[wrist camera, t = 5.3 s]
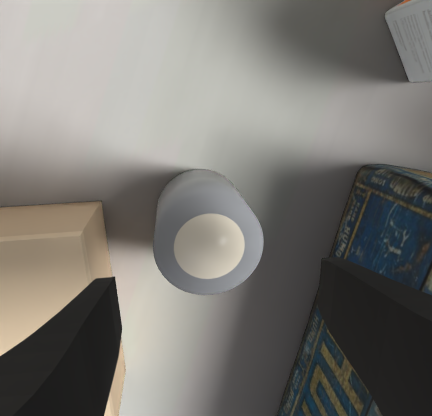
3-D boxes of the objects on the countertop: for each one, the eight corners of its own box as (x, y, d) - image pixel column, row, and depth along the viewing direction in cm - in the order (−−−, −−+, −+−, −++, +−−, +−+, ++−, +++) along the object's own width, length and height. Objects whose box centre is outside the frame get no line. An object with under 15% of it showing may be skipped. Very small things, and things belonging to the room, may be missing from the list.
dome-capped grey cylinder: (241, 246, 21) (262, 290, 16) (160, 252, 20) (157, 300, 16) (241, 166, 19) (265, 190, 15) (153, 171, 19) (148, 197, 14)
